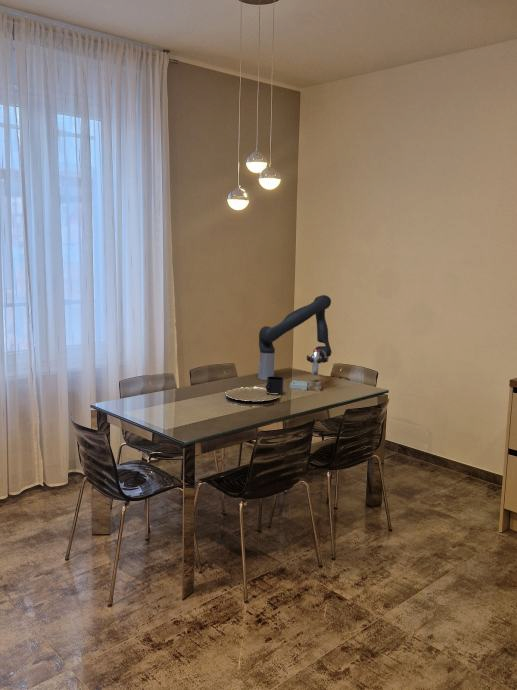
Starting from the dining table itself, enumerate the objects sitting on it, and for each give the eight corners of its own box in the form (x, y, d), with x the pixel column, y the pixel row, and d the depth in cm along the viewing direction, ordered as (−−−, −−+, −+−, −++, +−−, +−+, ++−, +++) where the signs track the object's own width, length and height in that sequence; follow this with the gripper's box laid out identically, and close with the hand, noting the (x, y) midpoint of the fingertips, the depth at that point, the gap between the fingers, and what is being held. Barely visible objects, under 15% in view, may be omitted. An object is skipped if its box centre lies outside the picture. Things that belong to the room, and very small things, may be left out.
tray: (289, 388, 372) (290, 384, 371) (293, 384, 381) (293, 380, 381) (306, 390, 369) (306, 385, 369) (309, 386, 379) (309, 382, 378)
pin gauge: (311, 374, 370) (313, 350, 368) (312, 373, 374) (314, 349, 371) (317, 375, 369) (319, 350, 367) (318, 374, 373) (319, 349, 370)
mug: (259, 393, 358) (260, 378, 356) (274, 390, 366) (275, 375, 365) (271, 397, 351) (272, 381, 350) (286, 393, 360) (286, 378, 358)
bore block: (306, 389, 370) (307, 381, 369) (308, 386, 378) (309, 378, 377) (320, 391, 368) (320, 383, 367) (322, 388, 376) (322, 380, 375)
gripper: (308, 349, 385) (303, 354, 368) (331, 351, 381) (327, 356, 365) (307, 361, 386) (302, 366, 369) (330, 363, 383) (326, 368, 366)
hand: (315, 361), depth 367 cm, fingers closed on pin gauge, 3 cm apart
